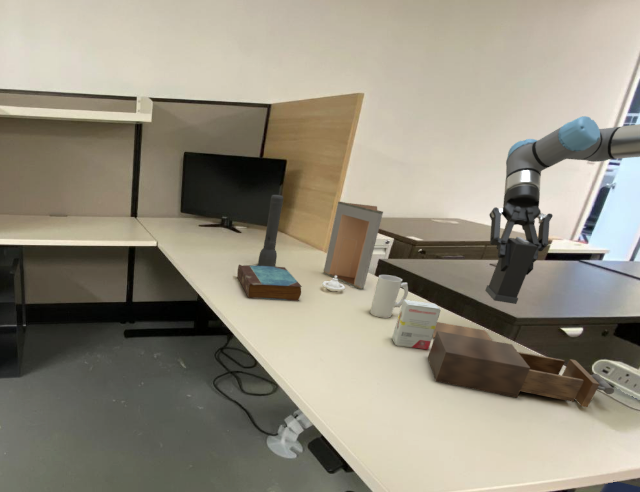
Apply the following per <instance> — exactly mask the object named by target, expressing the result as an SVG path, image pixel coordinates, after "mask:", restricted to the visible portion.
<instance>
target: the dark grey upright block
mask: <svg viewBox="0 0 640 492" xmlns="http://www.w3.org/2000/svg"><path fill="white" fill-rule="evenodd" d="M507 243H510V244H511V246H510V260H509V267H508V268H507V269H506V270H505V271H501V260H502V258H498V260H497V262H496V265H495V267H494V271H493V273H492V276H491V278H490V281H489V284H488V285H486V288H485V292H486V293H487V294H488V296H490V298H491V300H493V302H502V303H508V304H513V305H517V303H518V301H519V297H518V296H519V293H520V292H521V289H522V286H523V284H524V281H525V279H526V276H527V275H526V274H527V271H528V269H529V267H530V264H531V262H532V259H533V257H534V254H535V252H536V249H537V247H538V246H536V245H534V244H532V243H531V242H529V241H527V240H526V238H523V237H521V236H516V237H515V238H514V237H509V239H508V241H507ZM507 243H506V244H507Z"/></svg>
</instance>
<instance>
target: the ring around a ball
mask: <svg viewBox="0 0 640 492" xmlns="http://www.w3.org/2000/svg"><path fill="white" fill-rule="evenodd" d="M334 277H335V278H333V277H331V278H332V279H331V280H325V281H322V283H321V286H322V287H323V288H325V289H328V291H329V292H332V293H333V292H340V291H344V290H345V289H346V286H345V285H344V284H343V283H342V282H341V283H340V282H339V280H338V279H337V276H336V275H335V276H334Z"/></svg>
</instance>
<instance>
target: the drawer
mask: <svg viewBox="0 0 640 492" xmlns="http://www.w3.org/2000/svg"><path fill="white" fill-rule="evenodd" d="M517 352H518V353H519V354H520V355H521V357H522V358H523V359H524V361H525V362H526V363H527V364H528V366H529V367H530V370H529V372H528V374H527V377H526V379H525V381H524V383H523V386H522V388H521V390H520V392H523V393H528V394H532V395H537V396H541V397H547V398H552V399H557V400H562V401H567V402H572V403H573V402H574V401H576V402H577V403H578V404H579V406H581V407H583V408H588V407H589V406H590V404H591V402H592V400H593V399H594V396H595V394H596V393H597V391H602V392H604V393H605V394H606V395H612V394H613V393H614V392H615V389H614V388H613V387H612V385H611V384H609V383H608V381H606V380H605V379H604V378H603V377H602V376H601V375H600V374H598V373H593V374H590V373H589V372H588V371H587V370H586V369H585V368H584V367H583V366H582V365H581V364H580V363H579V362H578V361H577V359H569V360H568V362H567V364H566V366H565V368H564V370H563V372H562V374H560V373H561V371H562V368H563V367H564V364H565V363H566V361H565V359H560V358H554V357H549V356H544V355H539V354H533V353H528V352H523V351H522V352H521V351H517Z"/></svg>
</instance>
